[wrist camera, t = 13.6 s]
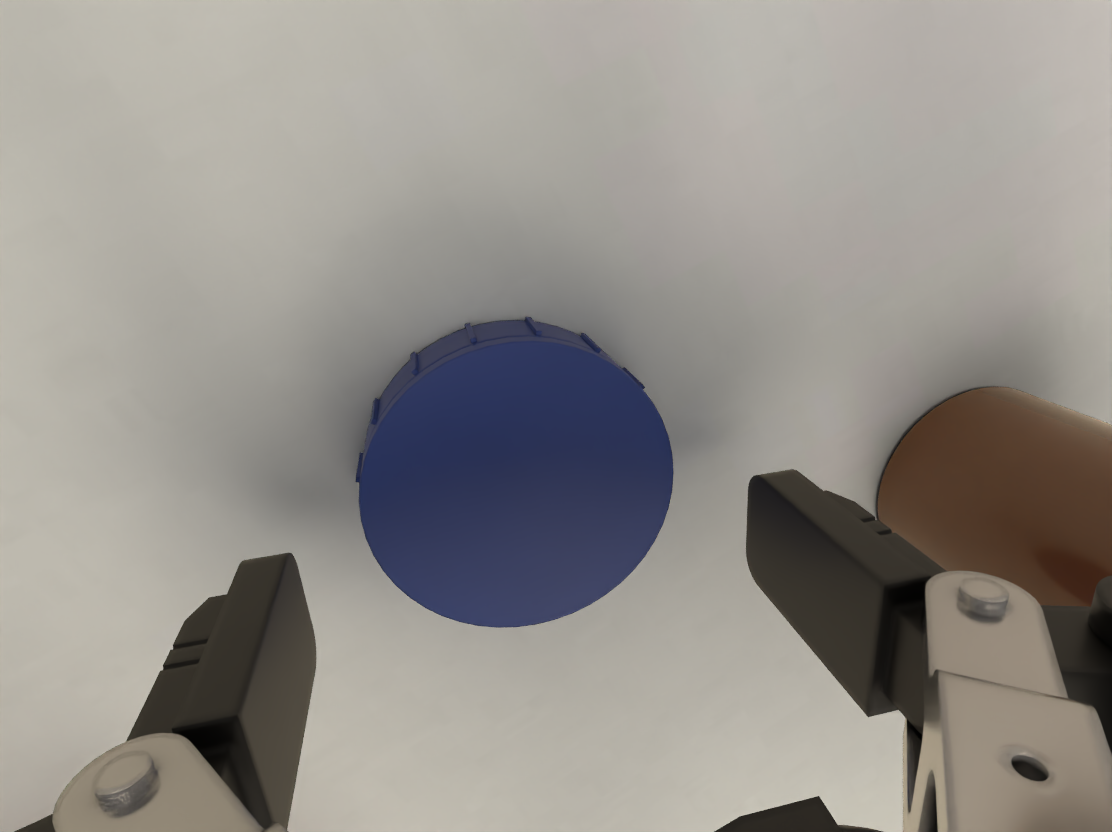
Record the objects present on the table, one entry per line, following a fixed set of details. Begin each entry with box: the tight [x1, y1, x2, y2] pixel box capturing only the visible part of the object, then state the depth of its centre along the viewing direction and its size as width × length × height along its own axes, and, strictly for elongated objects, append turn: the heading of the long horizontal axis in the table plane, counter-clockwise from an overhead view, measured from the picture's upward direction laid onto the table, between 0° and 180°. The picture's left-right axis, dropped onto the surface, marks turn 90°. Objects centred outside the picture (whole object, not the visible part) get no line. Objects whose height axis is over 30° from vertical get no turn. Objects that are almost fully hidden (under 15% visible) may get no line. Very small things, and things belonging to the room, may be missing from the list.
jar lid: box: [356, 317, 673, 627], centre depth 14 cm, size 6×6×2 cm
